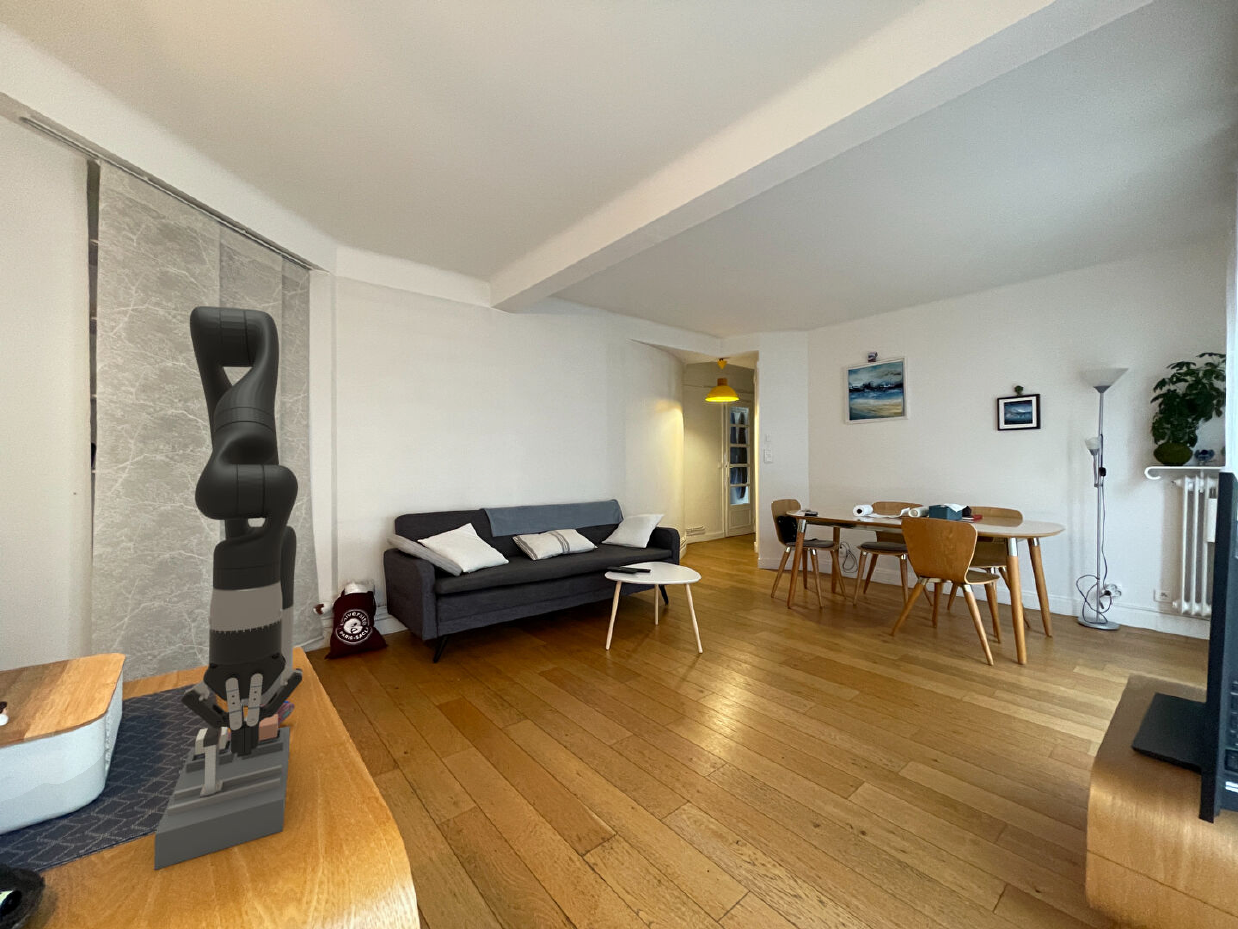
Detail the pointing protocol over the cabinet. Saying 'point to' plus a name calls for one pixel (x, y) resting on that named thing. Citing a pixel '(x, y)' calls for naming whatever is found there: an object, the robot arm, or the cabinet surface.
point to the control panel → (225, 802)
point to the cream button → (199, 740)
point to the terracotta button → (268, 727)
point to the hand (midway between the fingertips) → (244, 753)
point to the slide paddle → (212, 763)
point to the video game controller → (282, 713)
